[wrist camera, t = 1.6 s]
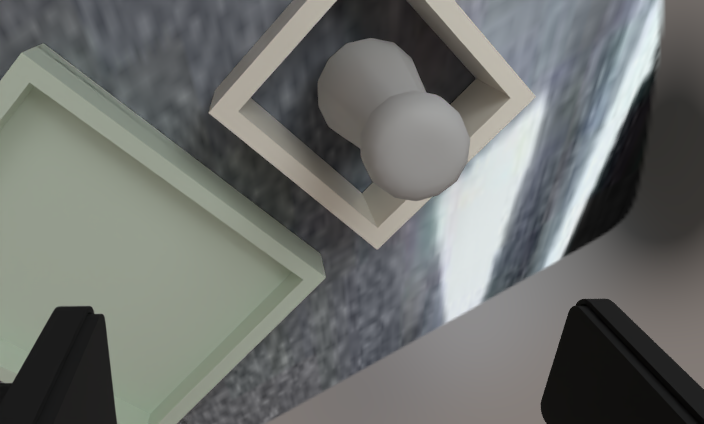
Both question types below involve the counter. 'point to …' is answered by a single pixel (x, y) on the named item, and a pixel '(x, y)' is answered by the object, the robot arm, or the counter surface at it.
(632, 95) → the counter surface
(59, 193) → the tray
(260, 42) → the square frame
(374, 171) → the salt shaker
